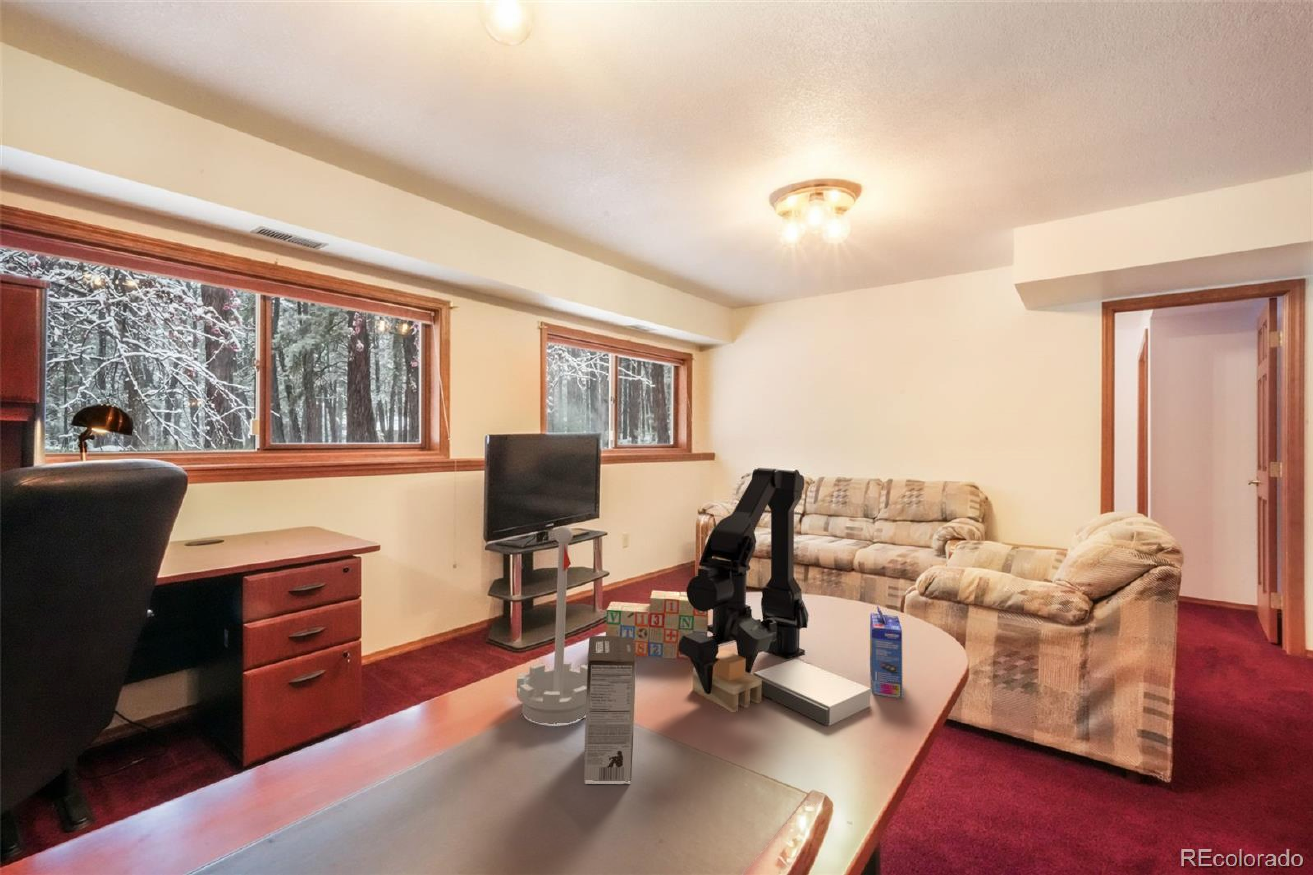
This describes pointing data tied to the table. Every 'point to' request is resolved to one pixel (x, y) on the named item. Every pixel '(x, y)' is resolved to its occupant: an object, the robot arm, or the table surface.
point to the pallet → (731, 690)
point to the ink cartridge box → (886, 655)
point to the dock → (813, 691)
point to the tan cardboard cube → (729, 665)
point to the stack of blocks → (656, 623)
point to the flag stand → (555, 664)
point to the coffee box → (609, 708)
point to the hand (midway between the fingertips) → (726, 687)
